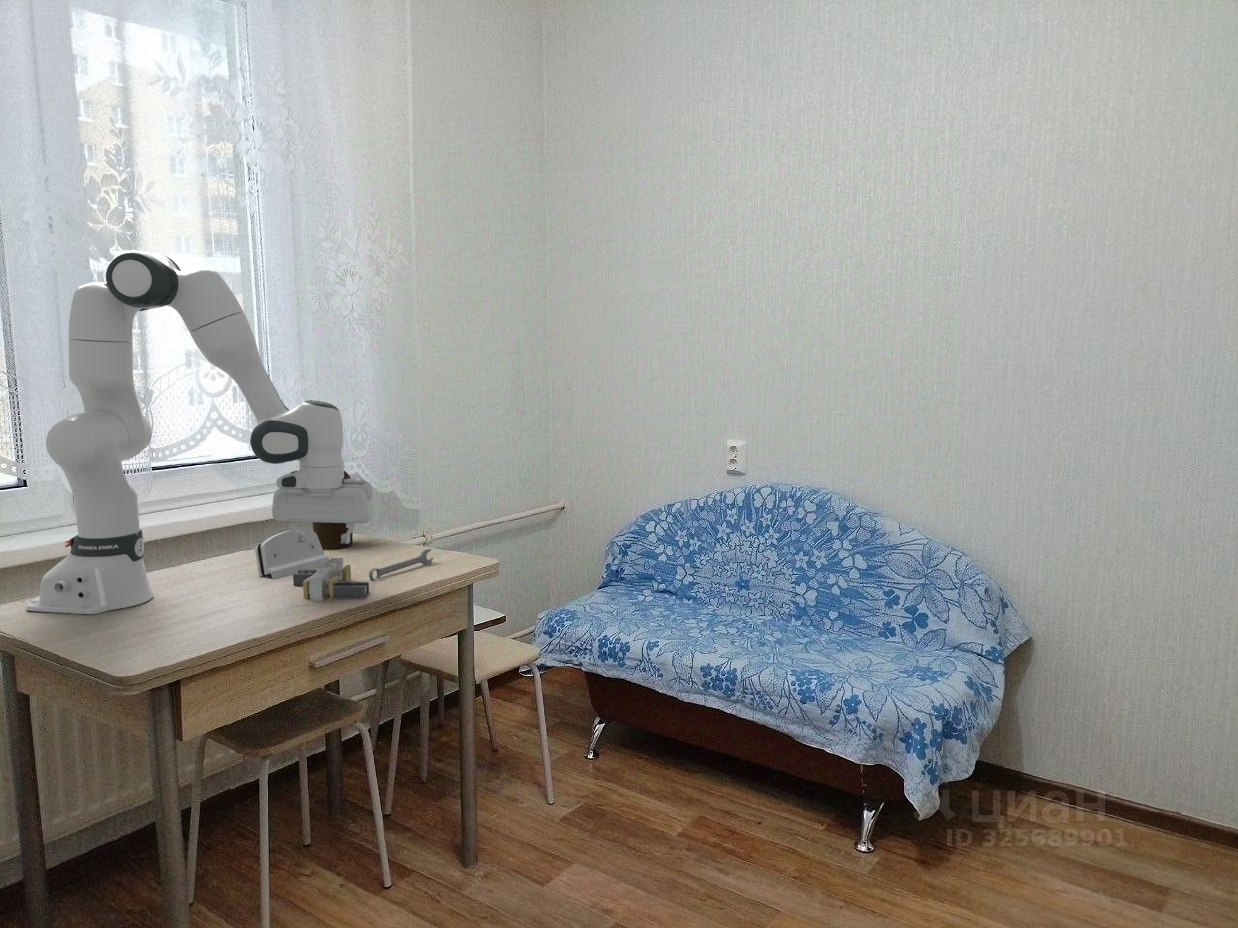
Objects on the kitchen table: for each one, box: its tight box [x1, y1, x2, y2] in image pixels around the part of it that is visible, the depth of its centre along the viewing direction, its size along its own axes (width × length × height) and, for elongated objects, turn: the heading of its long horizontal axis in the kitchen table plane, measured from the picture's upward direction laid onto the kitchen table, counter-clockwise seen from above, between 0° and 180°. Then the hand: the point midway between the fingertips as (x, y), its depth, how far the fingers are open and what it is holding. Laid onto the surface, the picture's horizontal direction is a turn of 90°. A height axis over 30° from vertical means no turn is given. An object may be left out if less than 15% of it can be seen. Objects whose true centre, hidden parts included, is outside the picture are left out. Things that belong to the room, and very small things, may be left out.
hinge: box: [254, 529, 330, 580], centre depth 218 cm, size 17×5×10 cm, turn 148°
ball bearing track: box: [292, 564, 370, 599], centre depth 201 cm, size 18×14×4 cm
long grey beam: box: [309, 557, 344, 602], centre depth 201 cm, size 3×17×5 cm, turn 2°
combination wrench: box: [368, 548, 434, 581], centre depth 216 cm, size 4×1×20 cm
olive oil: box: [311, 470, 354, 550], centre depth 240 cm, size 11×11×25 cm
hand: (323, 542), depth 200 cm, fingers open, 8 cm apart
